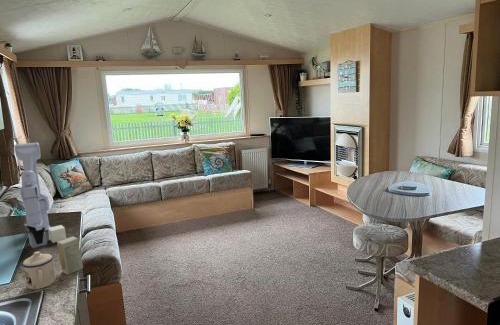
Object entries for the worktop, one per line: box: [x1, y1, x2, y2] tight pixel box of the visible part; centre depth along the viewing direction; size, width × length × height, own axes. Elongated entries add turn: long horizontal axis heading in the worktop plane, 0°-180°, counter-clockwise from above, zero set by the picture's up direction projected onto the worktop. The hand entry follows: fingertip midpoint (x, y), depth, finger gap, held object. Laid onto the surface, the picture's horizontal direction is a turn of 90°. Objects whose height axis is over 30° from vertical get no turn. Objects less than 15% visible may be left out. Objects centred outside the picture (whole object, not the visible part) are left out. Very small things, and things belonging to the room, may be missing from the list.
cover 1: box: [27, 231, 48, 249], centre depth 163 cm, size 6×6×6 cm
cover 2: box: [47, 224, 67, 244], centre depth 168 cm, size 6×6×6 cm
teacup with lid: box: [22, 250, 56, 290], centre depth 126 cm, size 12×9×12 cm
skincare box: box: [56, 236, 84, 275], centre depth 136 cm, size 6×4×12 cm
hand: (38, 241), depth 163 cm, fingers closed on cover 1, 6 cm apart
